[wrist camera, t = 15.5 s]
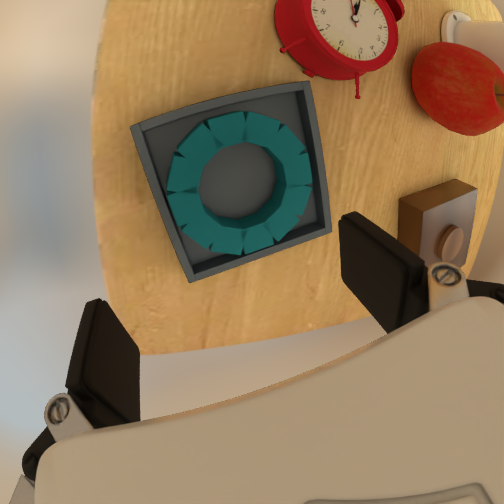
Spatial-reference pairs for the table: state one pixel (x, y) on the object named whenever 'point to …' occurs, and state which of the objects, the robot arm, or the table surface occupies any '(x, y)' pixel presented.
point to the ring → (271, 214)
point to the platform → (438, 222)
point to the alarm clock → (339, 35)
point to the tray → (236, 171)
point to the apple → (459, 88)
